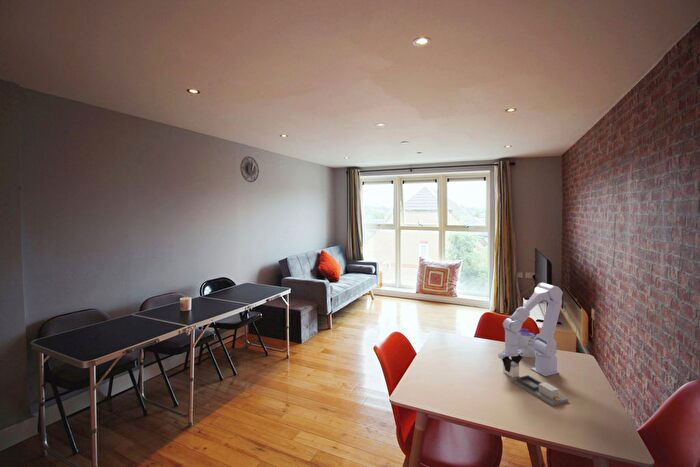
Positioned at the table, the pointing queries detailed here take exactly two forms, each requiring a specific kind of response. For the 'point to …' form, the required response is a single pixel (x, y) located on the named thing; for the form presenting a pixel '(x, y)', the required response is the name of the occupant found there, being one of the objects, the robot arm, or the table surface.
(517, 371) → the plug
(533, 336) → the ink cartridge box
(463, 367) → the table surface
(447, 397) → the table surface
